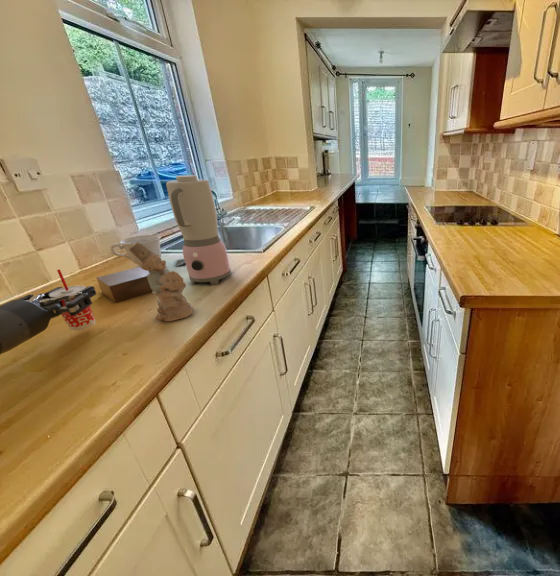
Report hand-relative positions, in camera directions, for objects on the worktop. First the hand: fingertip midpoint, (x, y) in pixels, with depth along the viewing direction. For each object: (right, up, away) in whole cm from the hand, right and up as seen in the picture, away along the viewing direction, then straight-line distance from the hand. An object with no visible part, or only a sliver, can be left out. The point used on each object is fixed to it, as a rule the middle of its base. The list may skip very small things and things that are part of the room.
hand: (77, 290), depth 73 cm
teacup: (-16, +8, +42) cm, 45 cm away
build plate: (-1, +11, +47) cm, 48 cm away
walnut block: (-5, 0, +22) cm, 23 cm away
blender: (+14, +3, +30) cm, 33 cm away
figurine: (+17, -7, +9) cm, 20 cm away
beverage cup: (0, -8, +1) cm, 9 cm away
